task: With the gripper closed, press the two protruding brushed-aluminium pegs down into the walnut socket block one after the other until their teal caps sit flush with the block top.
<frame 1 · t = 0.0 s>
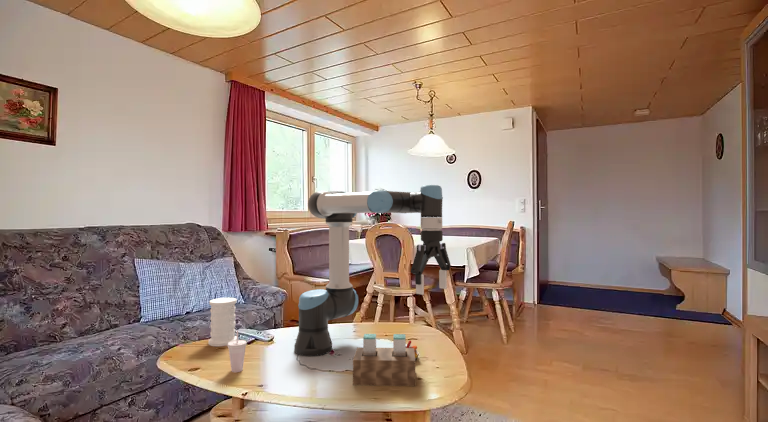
hand: (431, 291, 136), 28 cm above the table, fingers open, 13 cm apart
socket block: (384, 377, 131), on the table
decorative container: (223, 342, 169), on the table
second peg: (369, 347, 132), point 10 cm above the table, slide at 6.0 cm
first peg: (399, 347, 131), point 10 cm above the table, slide at 6.0 cm
smoothie: (237, 370, 138), on the table
rainbow disc car: (405, 359, 149), on the table
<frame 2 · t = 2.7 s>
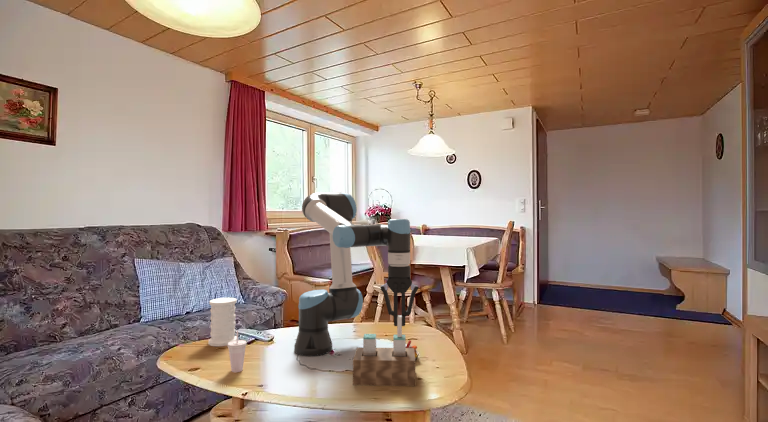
hand: (399, 335, 131), 14 cm above the table, fingers closed
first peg: (399, 348, 131), point 10 cm above the table, slide at 5.8 cm, touching gripper
everything else where it was.
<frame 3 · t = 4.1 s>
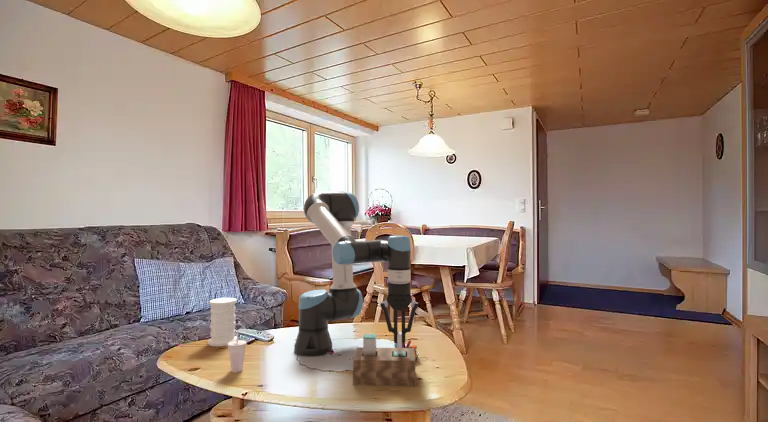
hand: (399, 352, 131), 8 cm above the table, fingers closed
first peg: (399, 365, 131), point 4 cm above the table, slide at 0.2 cm, touching gripper
everything else where it was.
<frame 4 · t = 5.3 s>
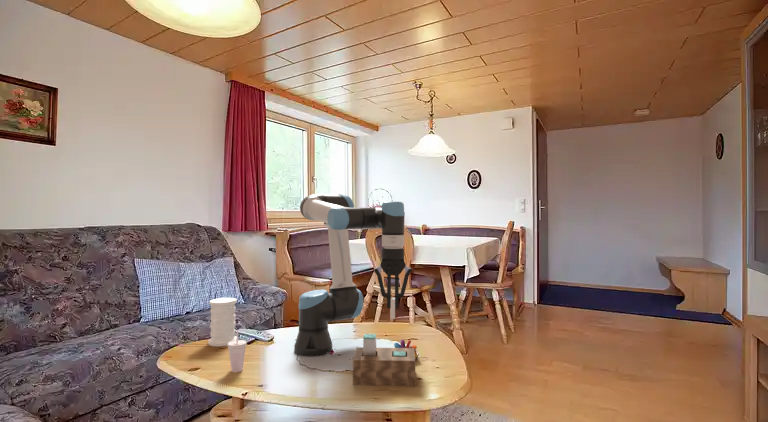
hand: (392, 317, 132), 20 cm above the table, fingers closed
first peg: (399, 365, 131), point 4 cm above the table, slide at 0.2 cm
everything else where it was.
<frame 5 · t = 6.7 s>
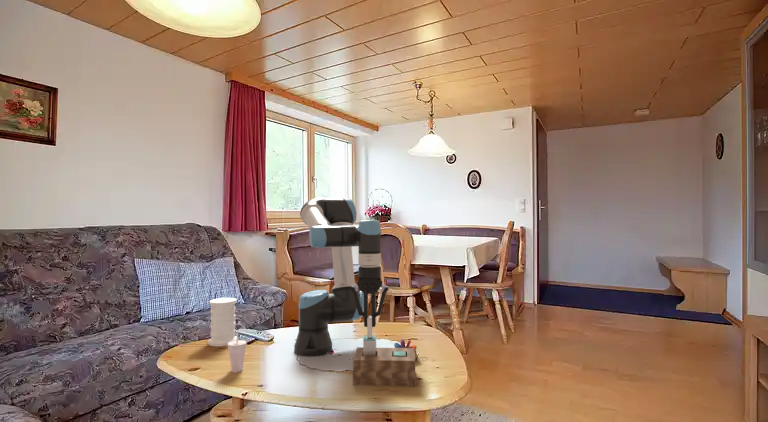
hand: (369, 336, 132), 14 cm above the table, fingers closed
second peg: (369, 349, 132), point 10 cm above the table, slide at 5.5 cm, touching gripper
everything else where it was.
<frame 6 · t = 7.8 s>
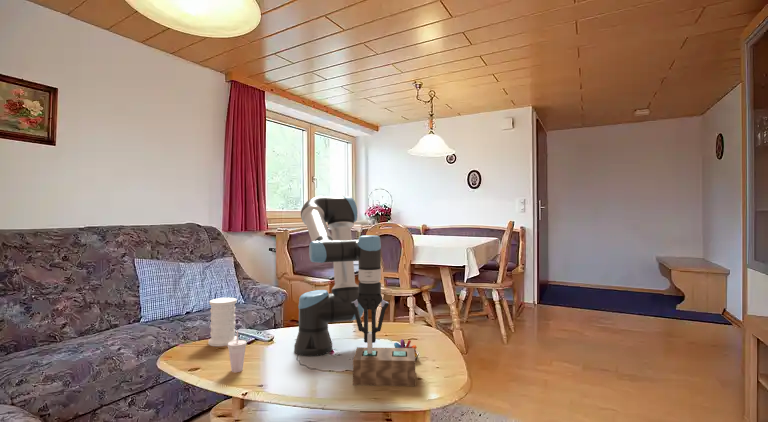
hand: (369, 352, 131), 9 cm above the table, fingers closed
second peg: (369, 364, 131), point 4 cm above the table, slide at 0.3 cm, touching gripper
everything else where it was.
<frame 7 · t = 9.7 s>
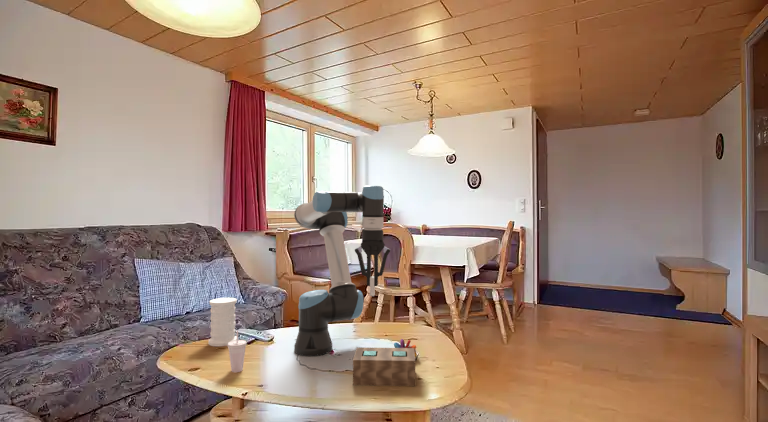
hand: (372, 295, 140), 26 cm above the table, fingers closed
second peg: (369, 365, 131), point 4 cm above the table, slide at 0.2 cm
everything else where it was.
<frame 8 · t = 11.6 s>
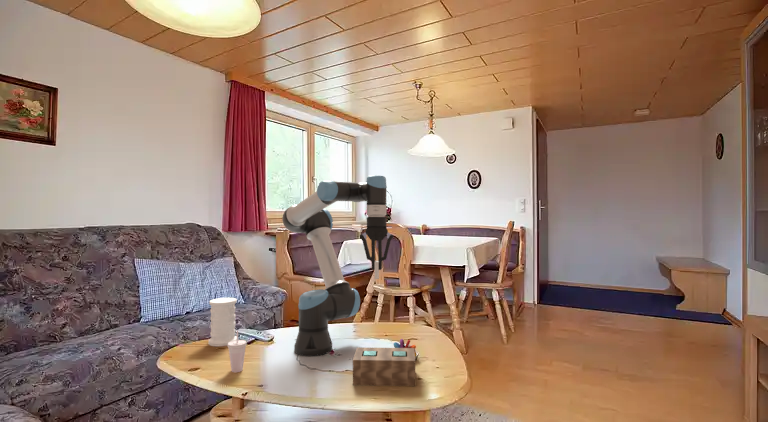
hand: (376, 278, 149), 30 cm above the table, fingers closed
nothing on the table moved.
at the end: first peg slide at 0.2 cm; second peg slide at 0.2 cm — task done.
